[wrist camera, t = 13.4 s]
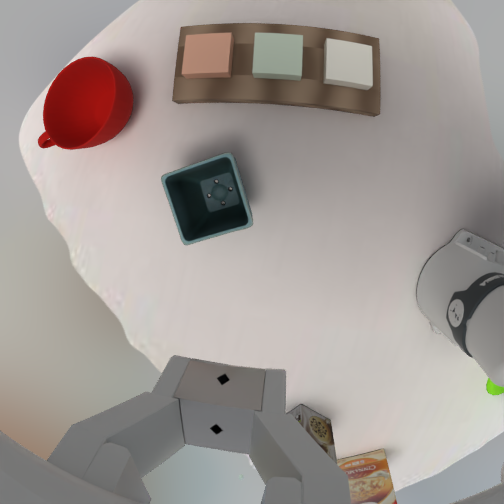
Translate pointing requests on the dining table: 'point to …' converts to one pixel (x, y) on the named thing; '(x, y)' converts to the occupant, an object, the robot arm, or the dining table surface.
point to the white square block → (348, 64)
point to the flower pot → (207, 199)
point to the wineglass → (494, 388)
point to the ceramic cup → (86, 105)
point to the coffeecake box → (369, 478)
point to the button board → (278, 90)
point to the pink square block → (208, 56)
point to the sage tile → (278, 56)
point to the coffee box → (316, 428)
